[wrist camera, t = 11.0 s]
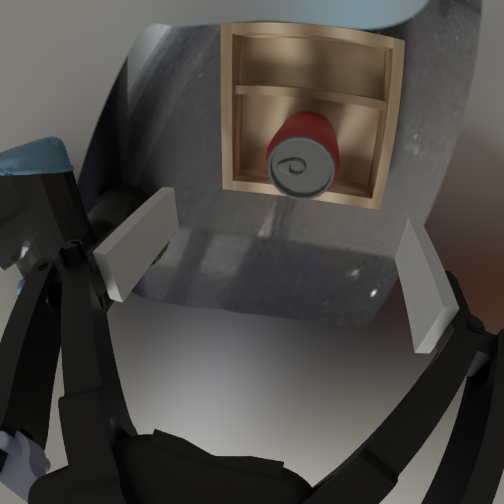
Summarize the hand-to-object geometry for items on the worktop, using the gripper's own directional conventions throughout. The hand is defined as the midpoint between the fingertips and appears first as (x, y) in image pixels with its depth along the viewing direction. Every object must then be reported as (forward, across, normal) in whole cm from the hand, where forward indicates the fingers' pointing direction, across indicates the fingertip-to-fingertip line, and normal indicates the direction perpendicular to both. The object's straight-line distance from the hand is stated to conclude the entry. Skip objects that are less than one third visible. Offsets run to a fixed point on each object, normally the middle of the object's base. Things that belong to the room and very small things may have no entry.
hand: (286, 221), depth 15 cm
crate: (+22, 0, +4) cm, 22 cm away
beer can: (+21, 0, 0) cm, 21 cm away
